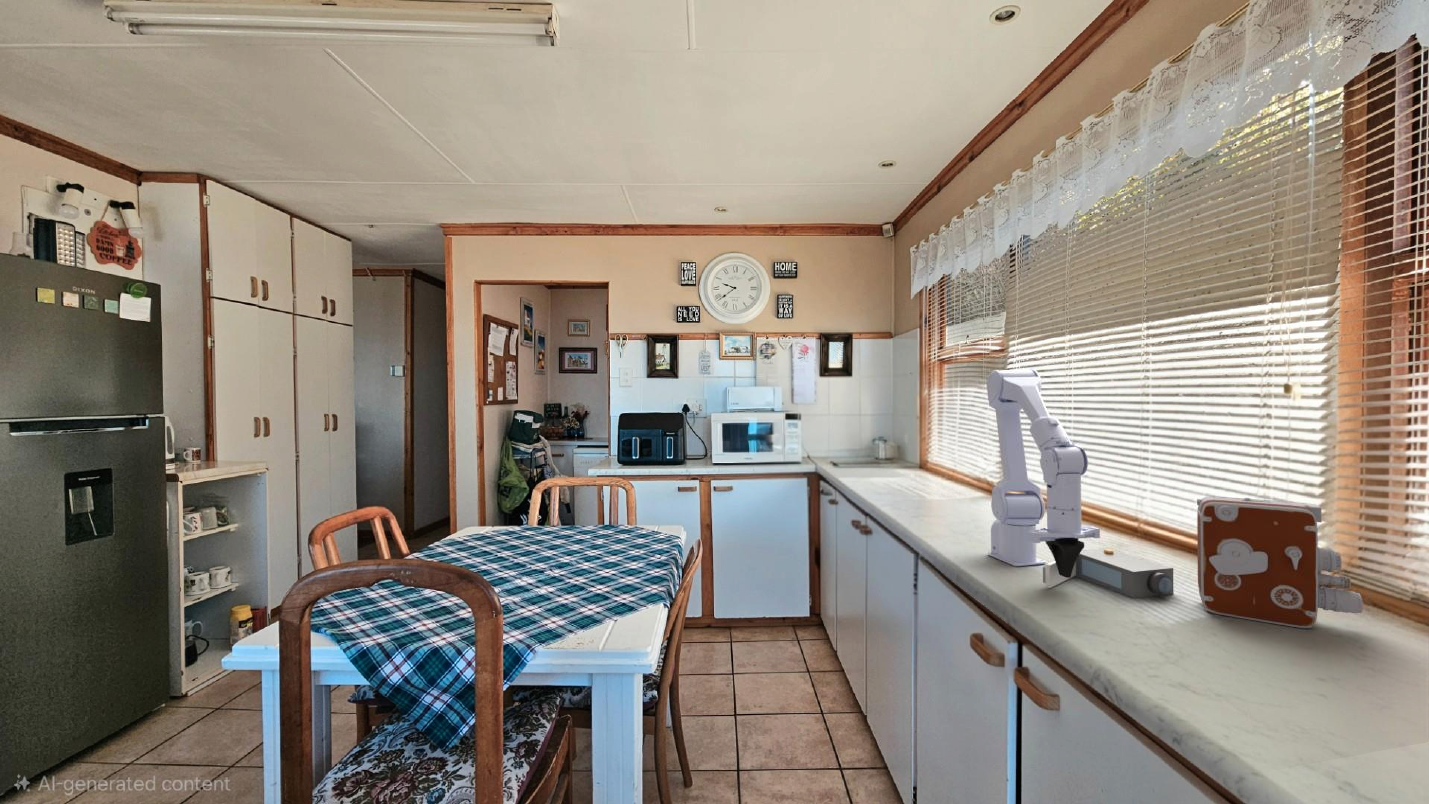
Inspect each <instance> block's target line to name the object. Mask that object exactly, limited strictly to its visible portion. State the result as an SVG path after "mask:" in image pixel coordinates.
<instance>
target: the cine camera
mask: <svg viewBox="0 0 1429 804" xmlns="http://www.w3.org/2000/svg"><path fill="white" fill-rule="evenodd" d="M1196 505H1197V512H1196V513H1197V516H1196V518H1197V519H1196V520H1197V521H1196V522H1197V525H1196V526H1197V527H1196V528H1197V529H1196V530H1197V531H1196V533H1197V538H1196V539H1197V540H1196V541H1197V585H1198V593H1199V594H1198V595H1199V596H1200V600H1201V603H1202V606H1203V608H1204V609H1205V610H1206V611H1207V612H1209V613H1212V614H1215V615H1221V616H1224V617H1225V616H1226V617H1231V618H1237V619H1243V620H1250V621H1256V622H1261V623H1262V622H1263V623H1267V624H1275V625H1279V626H1287V627H1293V628H1299V629H1310V628H1313V627H1315V625H1316V623H1317V621H1318V620H1317V618H1318V612H1319V611H1318V610H1319V609H1322V610H1323V611H1332V612H1336V613H1346V614H1348V613H1350V614H1355V615H1356V614H1362V613H1363V609H1364V603H1363V598H1362V596H1361V594H1360V593H1359V592H1355V591H1351V590H1347V589H1351V586H1352V583H1351V578H1350V577H1349V576H1342V575H1338V576H1337V575H1332V574H1333V573H1334V572H1335V571H1341V570H1342V565H1343V564H1342V562H1343V561H1342V557H1341V556H1342V555H1341V554H1340V552H1339V551H1335V550H1333V549H1332V547H1326V548H1325V547H1319V546H1318V545H1319V544H1318V541H1319V540H1318V539H1319V538H1318V536H1319V535H1318V534H1319V532H1318V531H1319V530H1318V528H1319V527H1318V523H1322V507H1321V506H1319V505H1318V504H1315V503H1304V502H1292V501H1281V500H1272V499H1271V500H1268V499H1254V498H1250V497H1244V498H1243V497H1242V498H1241V497H1227V496H1211V495H1210V496H1204V497H1201V499H1200V498H1197V499H1196ZM1321 571H1323V572H1324V571H1325V572H1328V573H1332V574H1327V573H1325V574H1324V573H1320V572H1321ZM1320 586H1321V587H1320ZM1331 586H1333V587H1331ZM1337 587H1340V589H1339V588H1337Z"/></svg>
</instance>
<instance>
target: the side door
mask: <svg viewBox="0 0 1429 804" xmlns="http://www.w3.org/2000/svg"><path fill="white" fill-rule="evenodd" d="M1073 577H1077V576H1076V562H1075V564H1074V567H1073V571H1072V574H1071V577H1070V578H1066V577H1064V576H1061V575H1059V572H1058V568H1057V565H1056V562H1055V559H1054V560H1053V561H1051V562H1046V564H1044V565H1043V566H1042V582H1043V584H1045V588H1048V589H1051V588H1053V587H1055V586H1057V585H1059V584H1061V583H1063V582H1065V581H1068V580H1069V579H1071V578H1073Z"/></svg>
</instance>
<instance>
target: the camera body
mask: <svg viewBox="0 0 1429 804" xmlns="http://www.w3.org/2000/svg"><path fill="white" fill-rule="evenodd" d="M1075 577H1078V578H1081V579H1083V580H1086V581H1087V582H1088V581H1089V582H1091V583H1092V584H1093V583H1094V584H1096V585H1099V586H1101V587H1103V588H1106V589H1108V590H1111V591H1114V592H1116V593H1118V594H1119V593H1120V594H1122V595H1124V596H1127V597H1130V598H1132V599H1141V598H1149V597H1158V596H1162V597H1163V596H1164V597H1165V596H1169V595H1174V567H1172V566H1168V565H1166V564H1161V563H1158V562H1155V561H1152V560H1148V559H1145V558H1142V557H1140V556H1136V555H1132V554H1129V553H1126V552H1123V551H1120V550H1116V549H1113V548H1109V547H1105V548H1104V547H1103V548H1092V549H1083V550H1082V551H1081V552H1080V554H1079V555H1078V557H1077V559H1076V576H1075Z"/></svg>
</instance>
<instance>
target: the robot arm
mask: <svg viewBox="0 0 1429 804" xmlns="http://www.w3.org/2000/svg"><path fill="white" fill-rule="evenodd" d="M986 390H987V391H986V392H987V400H988V405H989V407H990V408H992V409H994V410H995V416H996V417H995V419H996V425H997V434H998V442H999V451H1000V459H1001V470H1002V477H1003V479H1002V480H1001V481H1000V482H998V483H997V484H996V485H995V486H994V487H993V488H992V489H991V502H990V503H991V505H990V506H991V507H990V508H991V511H992V514H993V516H994V517H995V520H994V521H993V522H992V524H991V528H990V551H991V552H988V553H987V555H988V556H991V557H993V558H996V559H998V560H1000V561H1002V562H1004V563H1007V564H1009V565H1012V566H1014V567H1023V566H1034V565H1035V566H1036V565H1045V564H1047V561H1046V560H1044V559H1043V560H1042V559H1041V558H1038V557H1037V544H1040V543H1041V542H1045V544H1046V545H1047V548H1048V549H1049V550H1050V553H1051V554H1052V556H1053V558H1054V560H1055V562H1056V565H1057V568H1058V572H1059V575H1061V576H1064V577H1066V578H1069V579H1071V578H1072V577H1071V574H1072V571H1073V567H1074V564H1075V562H1076V559H1077V557H1078V555H1079V554H1080V552H1081V551H1082V550H1084V548H1085V542H1084V541H1081V540H1079V539H1087V538H1088V539H1090V538H1093V539H1100V538H1101V536H1100V535H1101V532H1100V531H1101V529H1100V527H1095V526H1093V525H1092V526H1090V525H1086V526H1082V476H1083V475H1085V473H1087V471H1088V466H1089V459H1088V456H1087V453H1086V451H1085V449H1084V448H1083V446H1080V445H1078V444H1077V443H1076V442H1072V441H1071V439H1070V438H1069V436H1068V434H1067V432H1066V431H1065V429H1064V427H1063V425H1062V423H1061V422H1060V420H1059V419H1058V418H1055V417H1051V416H1050V413H1049V411H1048V409H1047V407H1046V404H1045V402H1044V400H1043V397H1042V395H1041V391H1042V379H1041V375H1040V373H1039V372H1038V371H1037V370H1036V369H1034V368H1031V369H1012V370H1011V369H1009V370H1007V369H1006V370H998V369H993V370H992V371H991V372H990V373H989V375H988V378H987V381H986ZM1021 410H1023V412H1024V414H1025V415H1026V417H1027V419H1029V421H1030V423H1031V425H1030V427H1029V433H1030V435H1031V436H1032V439H1033V440H1034V442H1035V445H1036V446H1037V448H1038V450H1039V453H1040V454H1041V455H1040V459H1039V466H1040V468H1041V471H1042V473H1043V475H1042V476H1043V483H1044V484H1046V503H1045V500H1044V498H1043V496H1042V492H1041V488H1040V486H1039V485H1037V484H1035V483H1034V482H1033V481H1031V480H1030V479H1029V477H1028V468H1027V462H1026V453H1025V447H1024V446H1025V444H1024V436H1023V430H1022V423H1021V415H1020V412H1021ZM1010 492H1011V493H1010ZM1012 492H1015V493H1012ZM1016 492H1018V493H1016ZM1019 492H1021V493H1019ZM1045 515H1046V522H1047V523H1046V524H1047V525H1046V527H1042V528H1038V529H1037V525H1040V521H1041V520H1042V519H1043V518H1044V516H1045ZM1070 577H1071V578H1070Z"/></svg>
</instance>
